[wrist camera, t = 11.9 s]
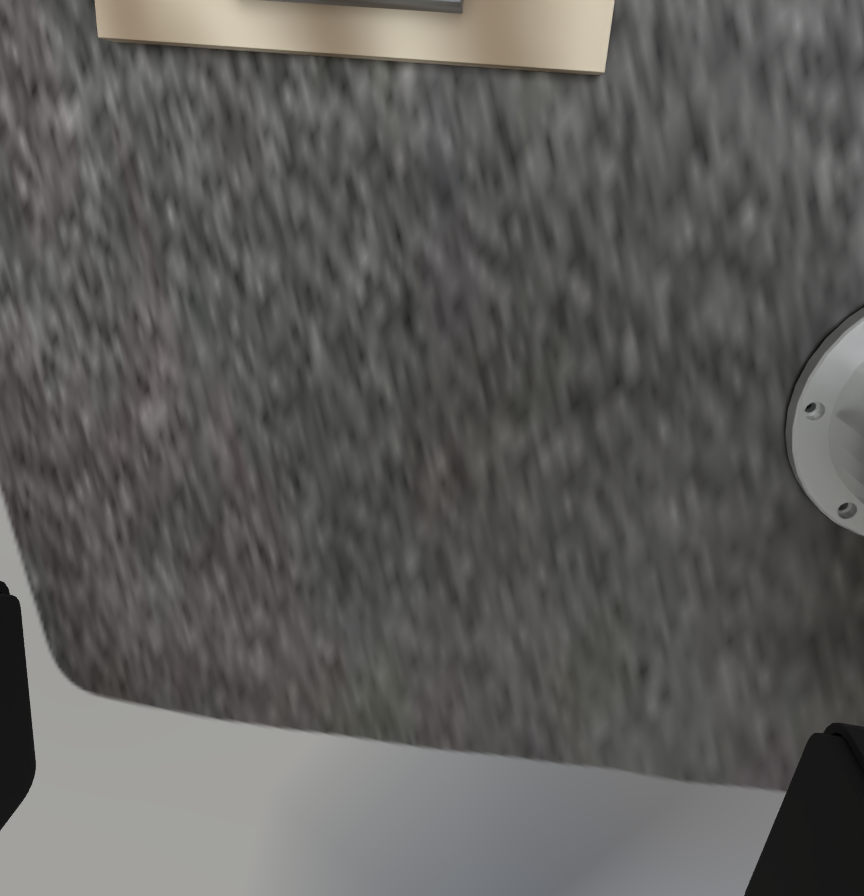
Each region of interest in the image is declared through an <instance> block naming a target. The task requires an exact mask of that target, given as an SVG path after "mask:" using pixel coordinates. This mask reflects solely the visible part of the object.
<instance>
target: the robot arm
mask: <svg viewBox="0 0 864 896" xmlns="http://www.w3.org/2000/svg"><path fill="white" fill-rule="evenodd" d="M811 403H812V405H811V407H810V408H809V409H806V407H807V406H808V405H809V404H811ZM785 435H786V445H787V454H788V458H789V461H790V464H791V467H792V470H793V473H794V476H795V478H796V479H797V481H798V483H799V484H800V486H801V487H802V489H803V491H804V492H805V494H806V495H807V496H808V497H809V498H810V500H811V501H812V502H813V503H814V504H815V505H816V506H817V507H818V508H819V510H820V511H821V512H823V513H824V514H825V515H826V516H827V517H829V518H830V519H831V520H832V521H833V522H835V523H836V524H838V525H840V526H842V527H844V528H846V529H848V530H850V531H852V532H854V533H856V534H858V535H860V536H864V307H863V308H862V309H860V310H859V311H857V312H856V313H854V314H853V315H851V316H850V317H848V318H847V319H846V320H845V321H844V322H843V323H842V324H841V325H840V326H839V327H838V328H836V329H835V330H834V331H833V332H832V333H831V334H830V335H829V336H828V337H827V338H826V339H825V340H824V341H823V343H822V344H821V345H820V347H819V348H818V349H817V350H816V352H815V353H814V354H813V356H812V357H811V358H810V359H809V361H808V363H807V364H806V366H805V368H804V370H803V372H802V374H801V376H800V378H799V379H798V381H797V383H796V385H795V388H794V392H793V395H792V398H791V401H790V404H789V407H788V413H787V422H786V431H785ZM35 770H36V760H35V751H34V740H33V730H32V719H31V709H30V699H29V688H28V678H27V668H26V658H25V648H24V638H23V628H22V616H21V607H20V603H19V600H18V599H17V597H15V596H13V595H10V593H9V589H8V587H7V586H6V584H5V583H4V582H2V581H0V830H1V829H2V827H3V826H4V825H5V823H6V822H7V821H8V820H9V818H10V817H11V816H12V814H13V813H14V811H15V810H16V809H17V808H18V806H19V805H20V804H21V802H22V801H23V799H24V798H25V796H26V795H27V793H28V791H29V789H30V787H31V785H32V782H33V779H34V775H35ZM744 896H864V727H861V726H855V725H849V724H843V723H832V724H831V725H829V726H828V727H827V728H826V730H825V731H824V733H814V734H813V735H812V736H811V737H810V738H809V740H808V742H807V744H806V747H805V749H804V752H803V754H802V756H801V759H800V761H799V764H798V766H797V768H796V771H795V773H794V776H793V778H792V781H791V783H790V785H789V788H788V790H787V793H786V795H785V798H784V800H783V802H782V805H781V807H780V810H779V812H778V815H777V817H776V819H775V822H774V824H773V827H772V829H771V831H770V834H769V836H768V839H767V841H766V843H765V846H764V848H763V851H762V853H761V856H760V858H759V860H758V863H757V865H756V868H755V870H754V872H753V875H752V877H751V880H750V882H749V885H748V887H747V889H746V892H745V895H744Z"/></svg>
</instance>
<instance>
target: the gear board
mask: <svg viewBox="0 0 864 896" xmlns="http://www.w3.org/2000/svg"><path fill="white" fill-rule="evenodd" d="M614 1H615V0H95V8H96V19H97V30H98V37H99V38H103V39H107V40H110V41H114V42H124V43H138V44H153V45H167V46H182V47H196V48H211V49H225V50H240V51H254V52H268V53H283V54H297V55H312V56H326V57H341V58H355V59H370V60H384V61H399V62H413V63H428V64H442V65H456V66H471V67H485V68H500V69H514V70H529V71H543V72H558V73H572V74H587V75H601V74H602V73H604V72H605V65H606V58H607V51H608V44H609V37H610V29H611V22H612V15H613V8H614Z"/></svg>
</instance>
